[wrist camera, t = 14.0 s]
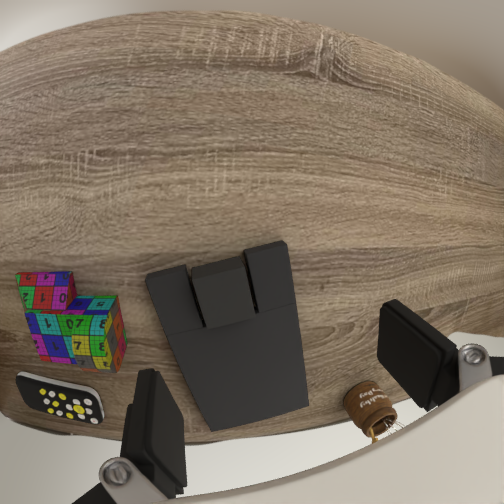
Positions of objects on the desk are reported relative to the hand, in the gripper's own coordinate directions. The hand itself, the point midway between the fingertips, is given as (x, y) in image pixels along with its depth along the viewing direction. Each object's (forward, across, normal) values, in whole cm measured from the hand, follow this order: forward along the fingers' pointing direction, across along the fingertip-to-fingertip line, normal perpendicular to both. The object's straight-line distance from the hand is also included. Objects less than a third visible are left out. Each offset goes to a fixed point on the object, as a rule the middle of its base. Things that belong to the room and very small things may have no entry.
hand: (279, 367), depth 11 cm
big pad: (+16, +1, +12) cm, 20 cm away
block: (+17, +18, +2) cm, 25 cm away
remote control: (+17, +26, +14) cm, 34 cm away
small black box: (+17, +1, +4) cm, 17 cm away
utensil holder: (+16, -13, +26) cm, 34 cm away
